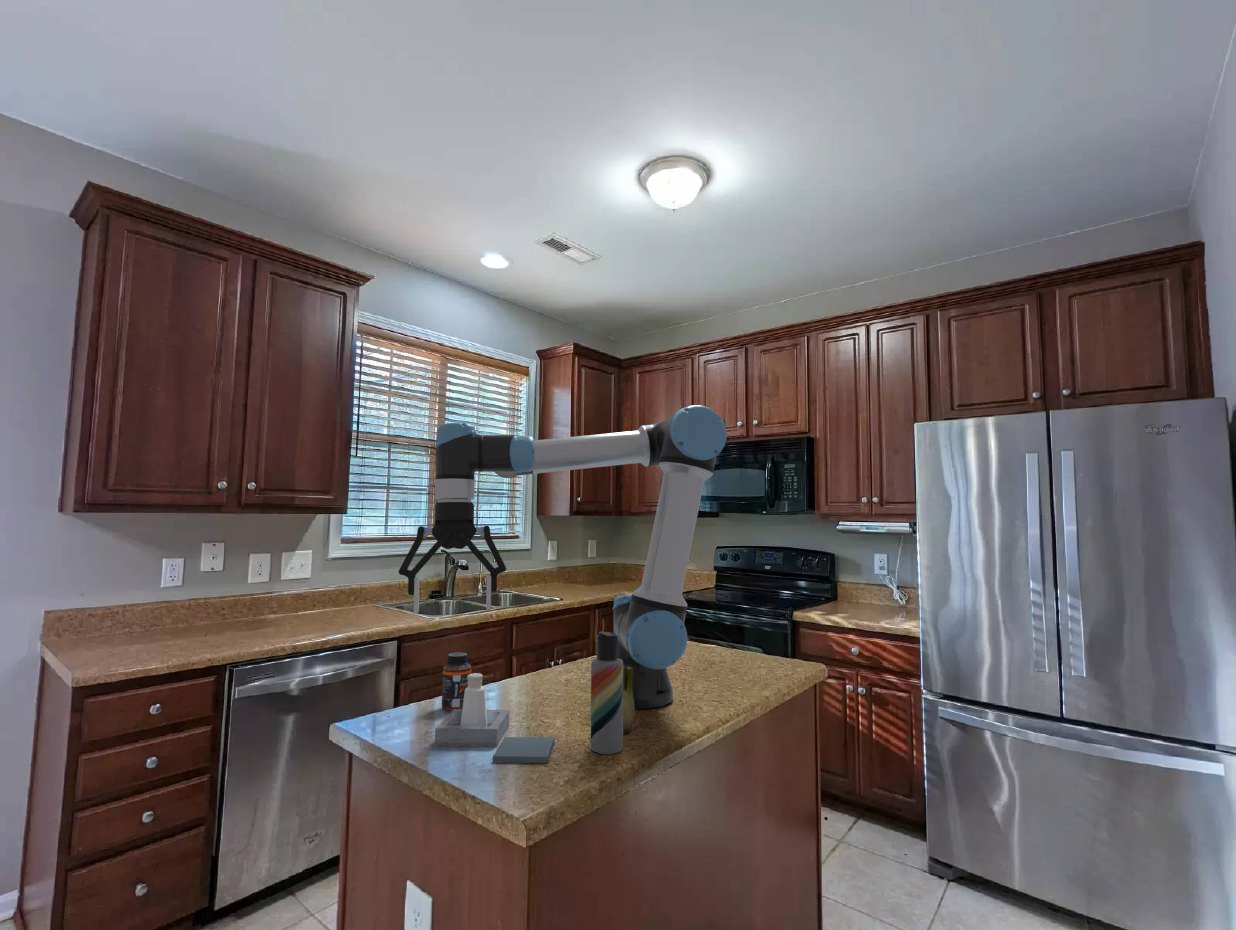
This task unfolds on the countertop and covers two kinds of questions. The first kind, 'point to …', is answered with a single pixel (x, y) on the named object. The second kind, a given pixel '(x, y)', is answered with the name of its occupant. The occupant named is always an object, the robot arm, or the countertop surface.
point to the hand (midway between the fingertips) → (452, 610)
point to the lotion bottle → (607, 696)
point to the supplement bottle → (455, 681)
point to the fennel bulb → (628, 700)
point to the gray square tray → (472, 730)
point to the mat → (524, 750)
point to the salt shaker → (474, 702)
